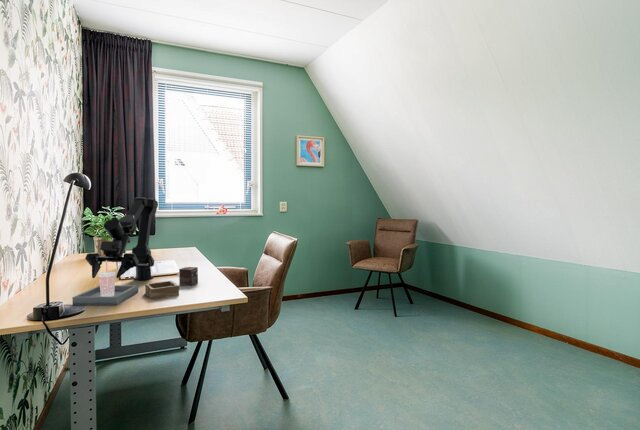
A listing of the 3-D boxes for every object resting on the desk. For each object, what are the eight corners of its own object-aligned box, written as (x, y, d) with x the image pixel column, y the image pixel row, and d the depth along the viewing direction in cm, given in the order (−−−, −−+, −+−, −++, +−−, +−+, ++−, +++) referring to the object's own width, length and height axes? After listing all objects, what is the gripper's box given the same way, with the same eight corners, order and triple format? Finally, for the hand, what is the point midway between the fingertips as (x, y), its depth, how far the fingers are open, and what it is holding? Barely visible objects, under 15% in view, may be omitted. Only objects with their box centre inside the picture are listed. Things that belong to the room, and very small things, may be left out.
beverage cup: (116, 293, 155) (115, 258, 154) (116, 296, 150) (115, 261, 149) (98, 294, 152) (97, 259, 151) (98, 298, 147) (97, 262, 146)
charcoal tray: (99, 292, 160) (99, 285, 160) (138, 292, 160) (138, 285, 160) (72, 305, 142) (72, 297, 142) (116, 305, 142) (116, 297, 142)
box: (191, 286, 171) (191, 269, 171) (179, 285, 173) (178, 269, 172) (198, 282, 177) (198, 267, 177) (186, 282, 179) (186, 266, 178)
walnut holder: (145, 293, 159) (145, 284, 158) (171, 289, 165) (171, 280, 164) (151, 299, 150) (151, 289, 150) (178, 295, 156) (178, 285, 156)
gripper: (87, 233, 153) (70, 266, 143) (134, 233, 153) (122, 266, 143) (98, 249, 161) (83, 281, 151) (143, 249, 162) (132, 282, 152)
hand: (105, 277), depth 149 cm, fingers open, 9 cm apart
